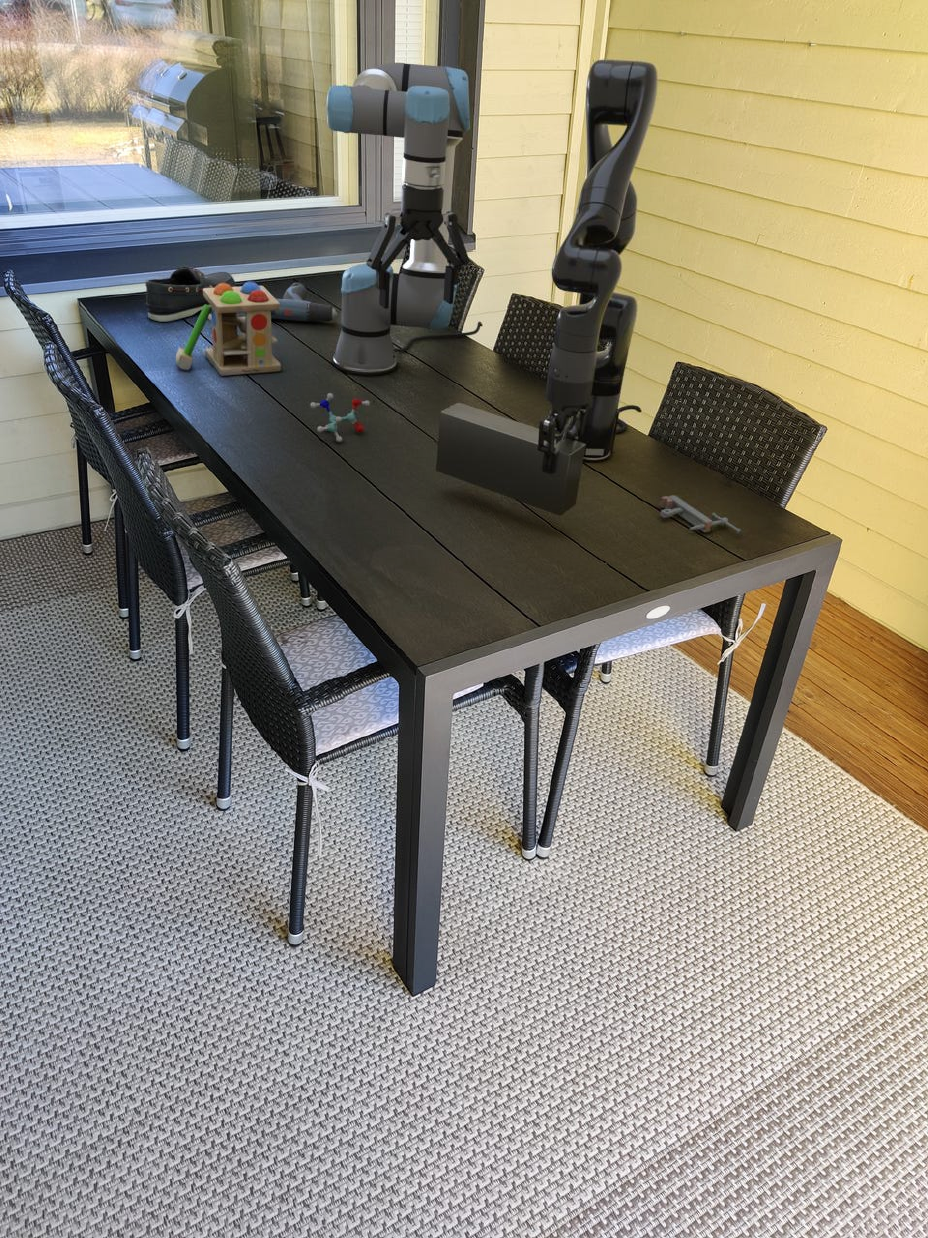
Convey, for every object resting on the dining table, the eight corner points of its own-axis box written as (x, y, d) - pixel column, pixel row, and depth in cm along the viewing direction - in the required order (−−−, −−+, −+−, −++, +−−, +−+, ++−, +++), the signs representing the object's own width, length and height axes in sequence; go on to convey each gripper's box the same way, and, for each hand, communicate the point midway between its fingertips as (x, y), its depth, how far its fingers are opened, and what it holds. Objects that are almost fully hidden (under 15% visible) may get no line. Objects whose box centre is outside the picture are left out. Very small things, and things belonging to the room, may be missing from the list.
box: (435, 470, 181) (440, 411, 175) (453, 460, 185) (458, 402, 179) (560, 516, 171) (570, 454, 164) (575, 504, 175) (586, 443, 168)
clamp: (649, 498, 185) (689, 490, 190) (647, 509, 187) (687, 500, 191) (702, 536, 175) (743, 526, 179) (699, 546, 176) (740, 536, 181)
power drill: (344, 304, 276) (335, 327, 259) (277, 298, 275) (264, 321, 258) (344, 285, 273) (335, 306, 256) (277, 279, 272) (264, 300, 255)
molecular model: (357, 434, 195) (340, 385, 194) (317, 449, 199) (300, 401, 197) (380, 430, 206) (364, 384, 204) (342, 444, 209) (326, 399, 208)
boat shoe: (254, 300, 273) (252, 262, 268) (165, 323, 249) (160, 282, 244) (221, 292, 279) (218, 254, 273) (130, 314, 255) (125, 273, 250)
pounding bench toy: (183, 379, 220) (176, 299, 210) (169, 357, 231) (162, 280, 221) (282, 371, 230) (280, 294, 220) (264, 350, 240) (262, 276, 230)
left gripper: (366, 190, 167) (363, 314, 179) (493, 188, 178) (482, 305, 190) (350, 181, 173) (348, 302, 185) (474, 179, 183) (464, 294, 195)
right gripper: (571, 390, 154) (556, 486, 163) (610, 367, 164) (594, 459, 174) (530, 377, 157) (517, 473, 166) (571, 356, 167) (557, 447, 177)
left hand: (416, 304), depth 187 cm, fingers open, 13 cm apart
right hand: (557, 465), depth 170 cm, fingers closed on box, 6 cm apart
